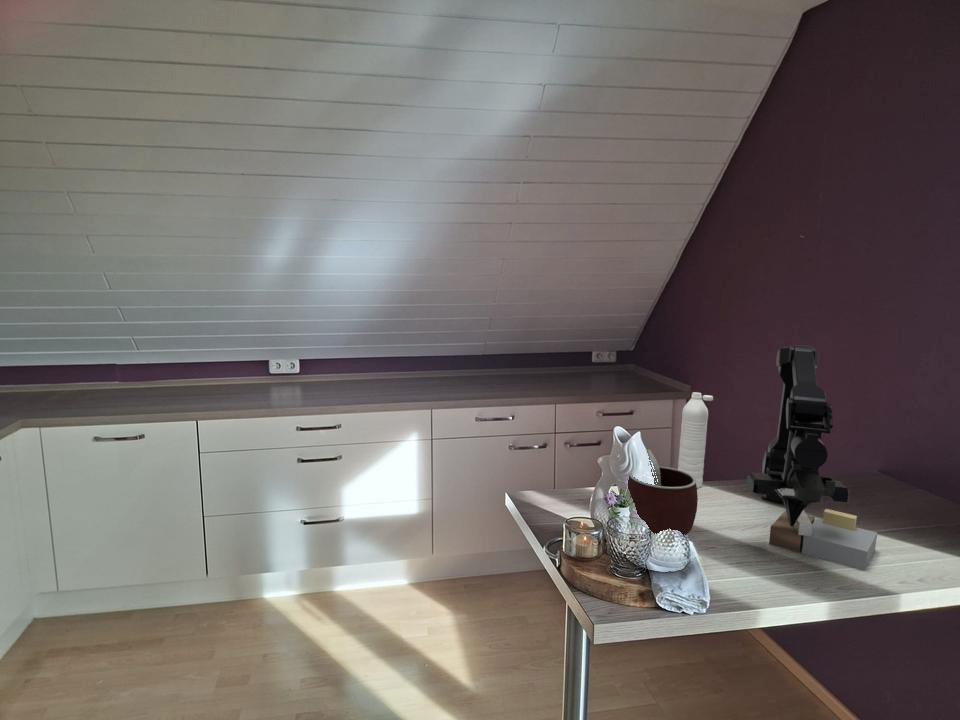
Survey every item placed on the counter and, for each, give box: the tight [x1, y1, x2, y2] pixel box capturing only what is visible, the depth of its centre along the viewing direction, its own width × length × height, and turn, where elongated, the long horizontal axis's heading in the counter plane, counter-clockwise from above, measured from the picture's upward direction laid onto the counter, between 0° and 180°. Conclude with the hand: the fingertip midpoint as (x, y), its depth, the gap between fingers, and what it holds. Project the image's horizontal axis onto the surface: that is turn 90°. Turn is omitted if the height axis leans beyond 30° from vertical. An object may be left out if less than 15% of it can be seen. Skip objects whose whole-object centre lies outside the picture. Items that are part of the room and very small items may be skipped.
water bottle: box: [677, 391, 714, 489], centre depth 173 cm, size 9×6×25 cm
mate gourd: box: [627, 449, 699, 536], centre depth 132 cm, size 16×14×20 cm
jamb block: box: [768, 510, 816, 553], centre depth 144 cm, size 12×6×4 cm, turn 141°
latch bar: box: [794, 508, 812, 536], centre depth 141 cm, size 11×3×2 cm, turn 165°
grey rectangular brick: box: [801, 508, 878, 572], centre depth 138 cm, size 12×12×7 cm
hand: (791, 525), depth 138 cm, fingers closed
